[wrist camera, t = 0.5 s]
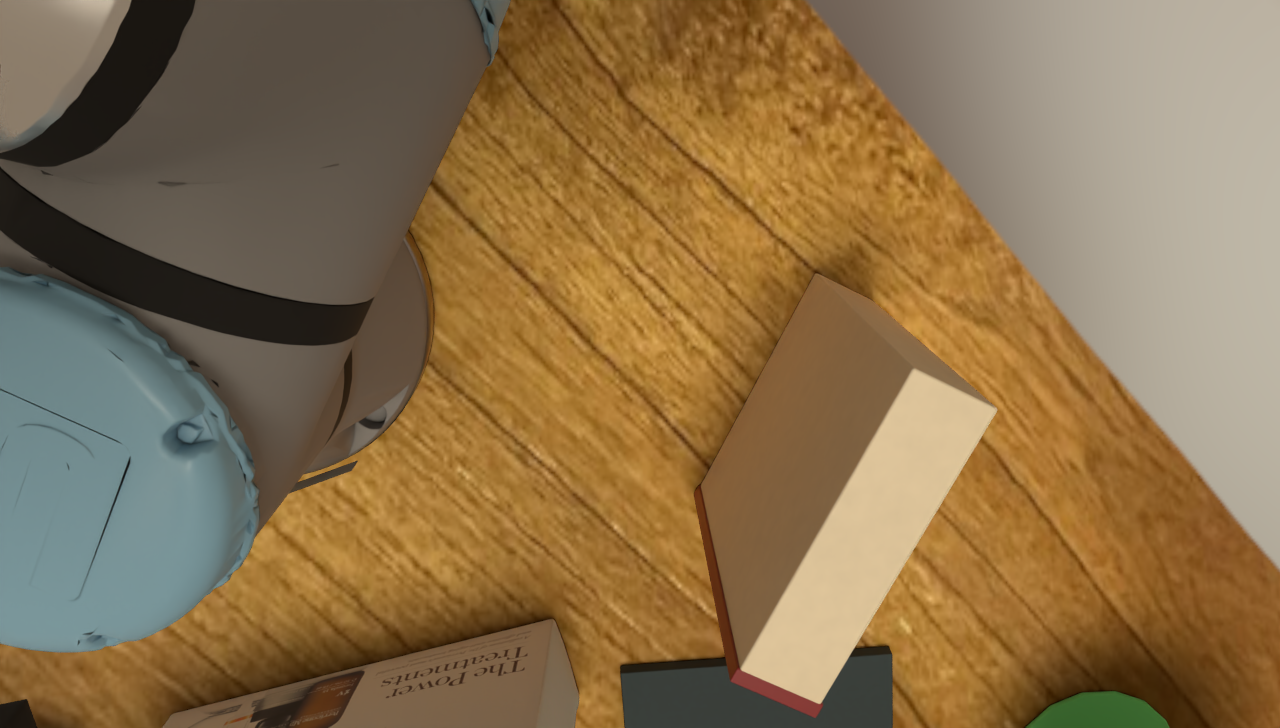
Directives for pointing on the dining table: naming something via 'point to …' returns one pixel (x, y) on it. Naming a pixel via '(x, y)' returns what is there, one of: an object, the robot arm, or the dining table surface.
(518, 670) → the skincare box
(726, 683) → the mat
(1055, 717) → the cup
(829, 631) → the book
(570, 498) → the dining table surface
